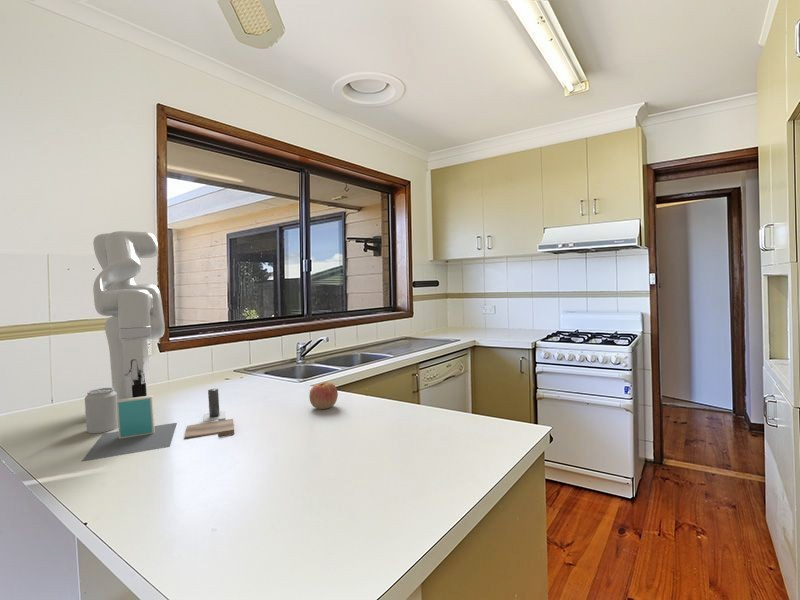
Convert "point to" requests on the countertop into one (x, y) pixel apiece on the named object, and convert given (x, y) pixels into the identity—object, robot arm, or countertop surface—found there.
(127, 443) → the mat
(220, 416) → the grey post stand
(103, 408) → the can
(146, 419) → the tile
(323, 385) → the apple
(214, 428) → the plate
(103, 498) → the countertop surface
